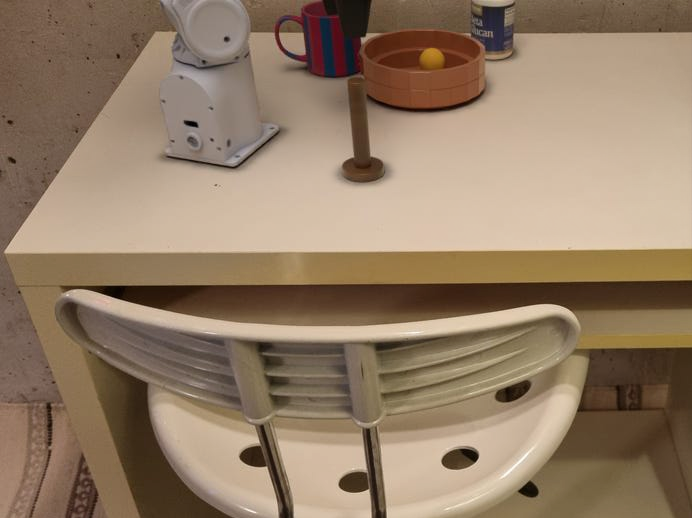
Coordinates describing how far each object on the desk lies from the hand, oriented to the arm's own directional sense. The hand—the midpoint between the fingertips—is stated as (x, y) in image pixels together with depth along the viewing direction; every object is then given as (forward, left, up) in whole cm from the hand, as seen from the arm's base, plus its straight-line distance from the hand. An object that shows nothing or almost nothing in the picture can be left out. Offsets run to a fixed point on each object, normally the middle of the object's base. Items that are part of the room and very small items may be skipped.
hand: (345, 25), depth 86 cm
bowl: (+10, -4, -10) cm, 15 cm away
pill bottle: (+24, -8, -10) cm, 27 cm away
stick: (-12, -6, -10) cm, 16 cm away
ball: (+13, -4, -8) cm, 16 cm away
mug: (+12, +10, -10) cm, 18 cm away
